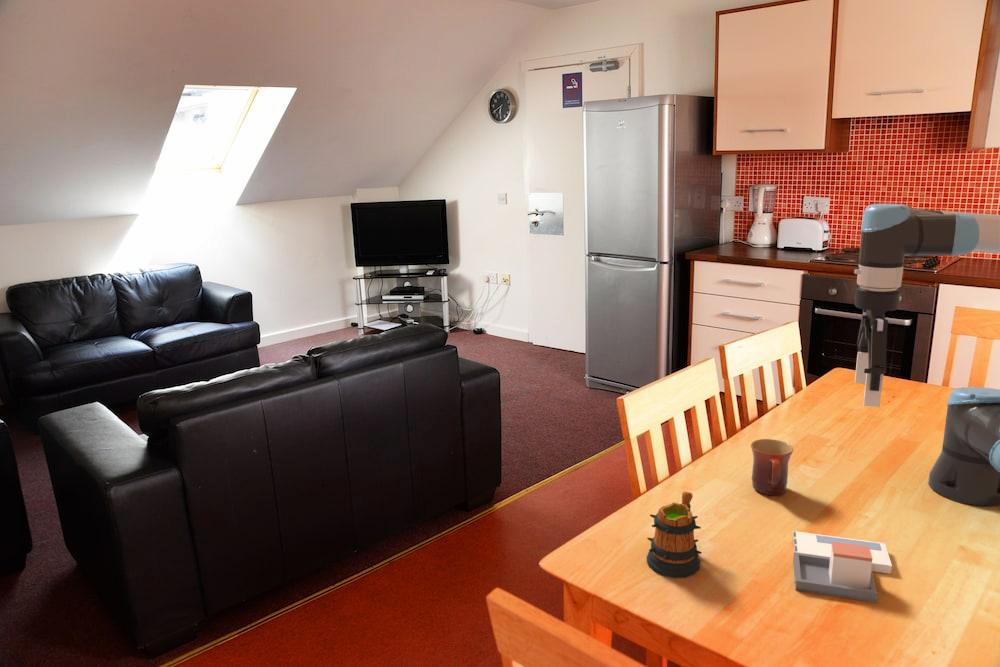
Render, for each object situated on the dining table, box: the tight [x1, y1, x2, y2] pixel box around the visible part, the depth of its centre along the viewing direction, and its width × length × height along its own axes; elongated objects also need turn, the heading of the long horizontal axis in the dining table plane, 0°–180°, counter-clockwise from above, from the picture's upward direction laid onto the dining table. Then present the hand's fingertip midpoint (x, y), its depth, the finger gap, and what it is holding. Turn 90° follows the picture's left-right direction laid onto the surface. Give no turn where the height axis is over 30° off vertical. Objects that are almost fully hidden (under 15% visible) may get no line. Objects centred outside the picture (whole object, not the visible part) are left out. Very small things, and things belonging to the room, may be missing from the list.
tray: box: [792, 551, 878, 603], centre depth 131 cm, size 13×10×2 cm
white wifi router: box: [792, 530, 893, 575], centre depth 139 cm, size 16×8×2 cm, turn 71°
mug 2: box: [750, 438, 794, 496], centre depth 162 cm, size 12×9×10 cm
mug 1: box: [646, 491, 702, 579], centre depth 137 cm, size 13×10×12 cm
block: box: [829, 542, 872, 589], centre depth 129 cm, size 6×4×6 cm, turn 71°
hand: (866, 394), depth 146 cm, fingers open, 13 cm apart
